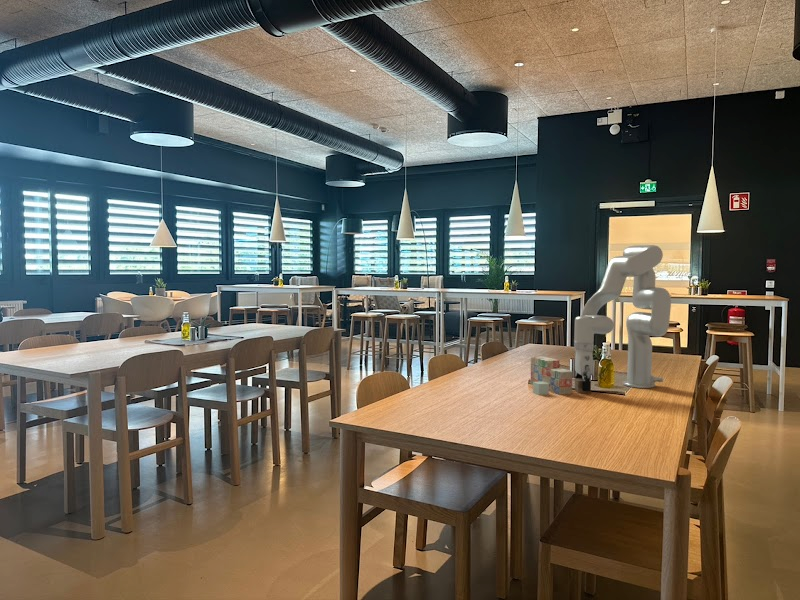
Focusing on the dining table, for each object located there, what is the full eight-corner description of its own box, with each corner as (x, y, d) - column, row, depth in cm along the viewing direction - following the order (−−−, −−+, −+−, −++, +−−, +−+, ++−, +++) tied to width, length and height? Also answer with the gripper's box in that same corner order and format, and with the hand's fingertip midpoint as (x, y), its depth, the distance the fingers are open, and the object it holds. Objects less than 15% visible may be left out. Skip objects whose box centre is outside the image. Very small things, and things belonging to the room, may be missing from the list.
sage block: (542, 392, 228) (542, 381, 228) (548, 394, 224) (549, 383, 224) (532, 393, 227) (532, 381, 227) (538, 395, 223) (539, 384, 222)
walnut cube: (586, 390, 232) (587, 378, 232) (590, 393, 227) (590, 381, 227) (574, 390, 233) (574, 378, 232) (578, 393, 228) (578, 380, 227)
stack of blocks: (572, 394, 226) (573, 363, 225) (558, 395, 224) (559, 364, 223) (542, 383, 246) (543, 355, 245) (529, 384, 244) (530, 356, 243)
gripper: (599, 349, 220) (598, 393, 221) (586, 343, 237) (585, 384, 238) (580, 349, 220) (579, 392, 221) (568, 343, 238) (567, 383, 239)
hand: (582, 388), depth 230 cm, fingers open, 9 cm apart
